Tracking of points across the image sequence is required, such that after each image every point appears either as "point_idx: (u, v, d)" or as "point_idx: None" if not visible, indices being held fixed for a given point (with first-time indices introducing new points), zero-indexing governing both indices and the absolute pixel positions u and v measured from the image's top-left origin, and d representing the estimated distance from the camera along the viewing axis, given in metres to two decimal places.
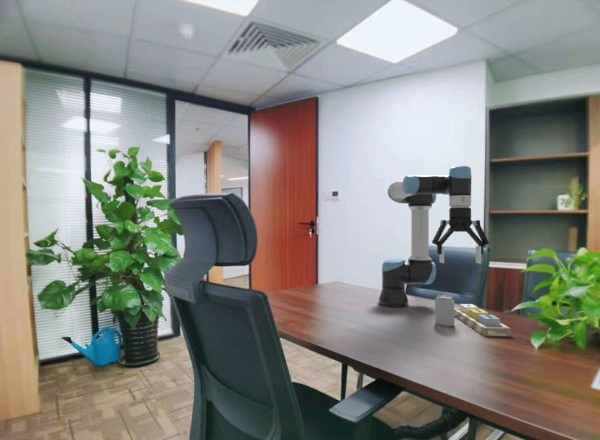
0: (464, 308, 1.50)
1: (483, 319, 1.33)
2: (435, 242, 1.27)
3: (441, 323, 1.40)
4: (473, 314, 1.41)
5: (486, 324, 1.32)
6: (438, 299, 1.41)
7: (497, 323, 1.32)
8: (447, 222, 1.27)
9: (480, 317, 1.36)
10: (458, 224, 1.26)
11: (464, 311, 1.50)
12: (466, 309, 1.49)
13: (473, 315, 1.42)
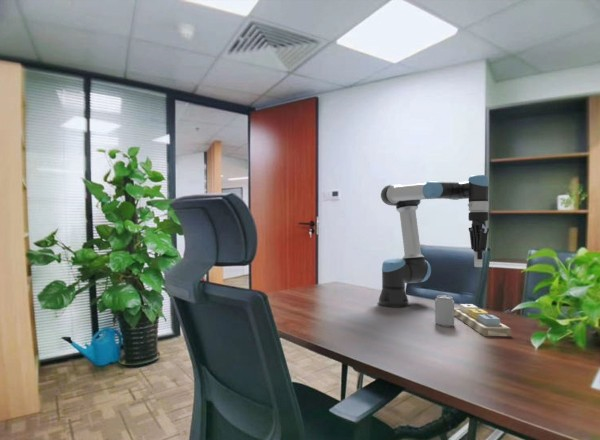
0: (464, 308, 1.50)
1: (483, 319, 1.33)
2: (471, 248, 1.46)
3: (441, 323, 1.40)
4: (473, 314, 1.41)
5: (486, 324, 1.32)
6: (438, 299, 1.41)
7: (497, 323, 1.32)
8: (472, 227, 1.48)
9: (480, 317, 1.36)
10: (472, 227, 1.45)
11: (464, 311, 1.50)
12: (466, 309, 1.49)
13: (473, 315, 1.42)
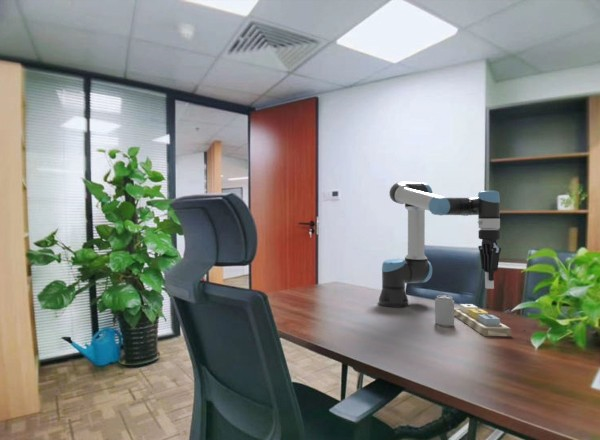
0: (464, 308, 1.50)
1: (483, 319, 1.33)
2: (482, 267, 1.38)
3: (441, 323, 1.40)
4: (473, 314, 1.41)
5: (486, 324, 1.32)
6: (438, 299, 1.41)
7: (497, 323, 1.32)
8: (482, 246, 1.39)
9: (480, 317, 1.36)
10: (482, 245, 1.36)
11: (464, 311, 1.50)
12: (466, 309, 1.49)
13: (473, 315, 1.42)
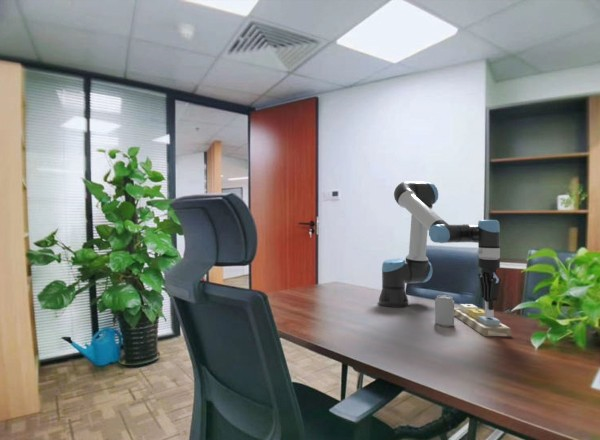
0: (464, 308, 1.50)
1: (483, 321, 1.33)
2: None
3: (441, 323, 1.40)
4: (473, 314, 1.41)
5: None
6: (438, 299, 1.41)
7: (497, 325, 1.32)
8: (482, 274, 1.39)
9: (480, 319, 1.36)
10: (482, 274, 1.36)
11: (464, 311, 1.50)
12: (466, 309, 1.49)
13: (473, 315, 1.42)
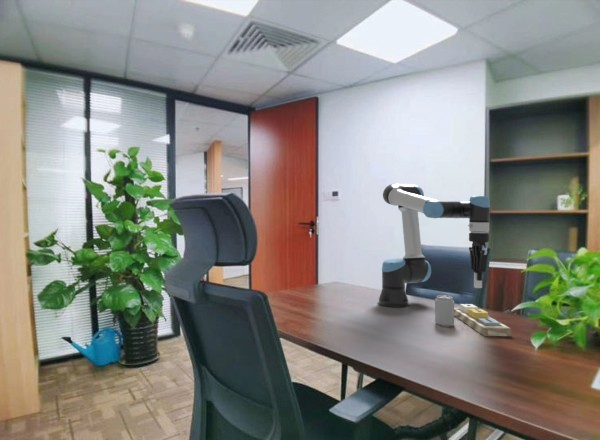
0: (464, 308, 1.50)
1: (483, 323, 1.33)
2: (471, 268, 1.46)
3: (441, 323, 1.40)
4: (473, 314, 1.41)
5: None
6: (438, 299, 1.41)
7: None
8: None
9: (480, 321, 1.36)
10: (472, 247, 1.44)
11: (464, 311, 1.50)
12: (466, 309, 1.49)
13: (473, 315, 1.42)
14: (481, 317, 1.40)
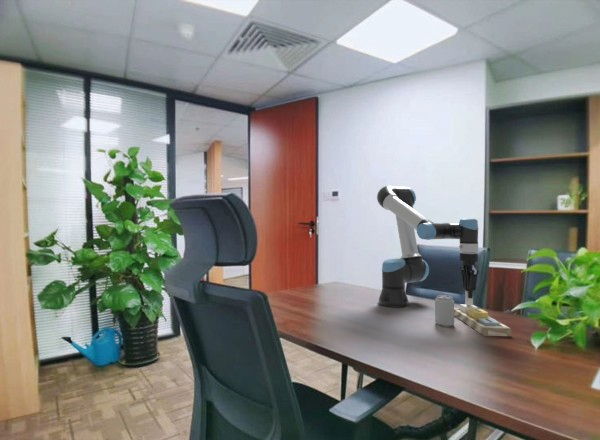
0: (464, 308, 1.50)
1: (483, 323, 1.33)
2: (463, 286, 1.55)
3: (441, 323, 1.40)
4: (473, 314, 1.41)
5: None
6: (438, 299, 1.41)
7: None
8: (463, 266, 1.56)
9: (480, 321, 1.36)
10: (463, 266, 1.53)
11: (464, 311, 1.50)
12: (466, 309, 1.49)
13: (473, 315, 1.42)
14: (481, 317, 1.40)
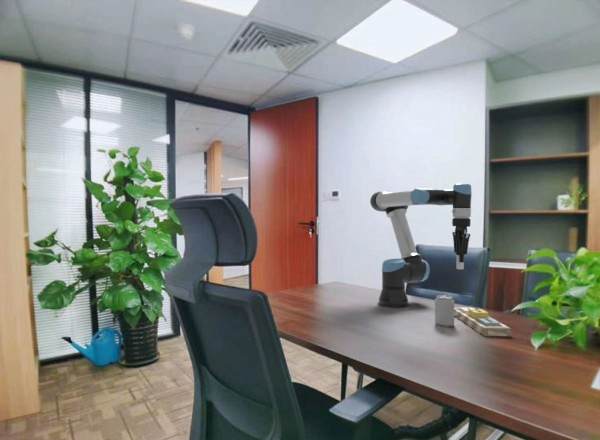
0: (464, 312, 1.50)
1: (483, 323, 1.33)
2: (454, 251, 1.57)
3: (441, 323, 1.40)
4: (473, 314, 1.41)
5: None
6: (438, 299, 1.41)
7: None
8: None
9: (480, 321, 1.36)
10: (455, 231, 1.55)
11: None
12: (466, 313, 1.49)
13: (473, 315, 1.42)
14: (481, 317, 1.40)
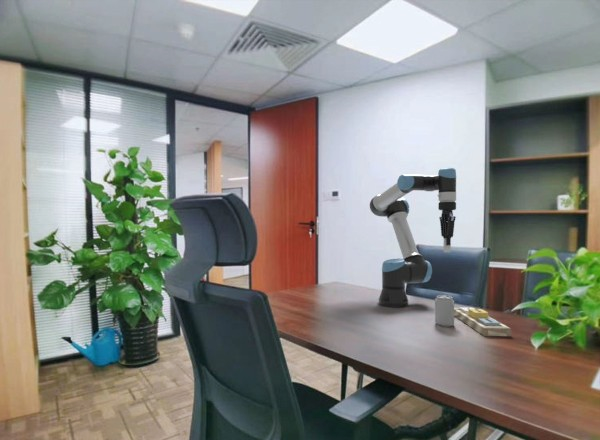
0: (464, 312, 1.50)
1: (483, 323, 1.33)
2: None
3: (441, 323, 1.40)
4: (473, 314, 1.41)
5: None
6: (438, 299, 1.41)
7: None
8: (442, 216, 1.61)
9: (480, 321, 1.36)
10: (441, 215, 1.58)
11: None
12: (466, 313, 1.49)
13: (473, 315, 1.42)
14: (481, 317, 1.40)
